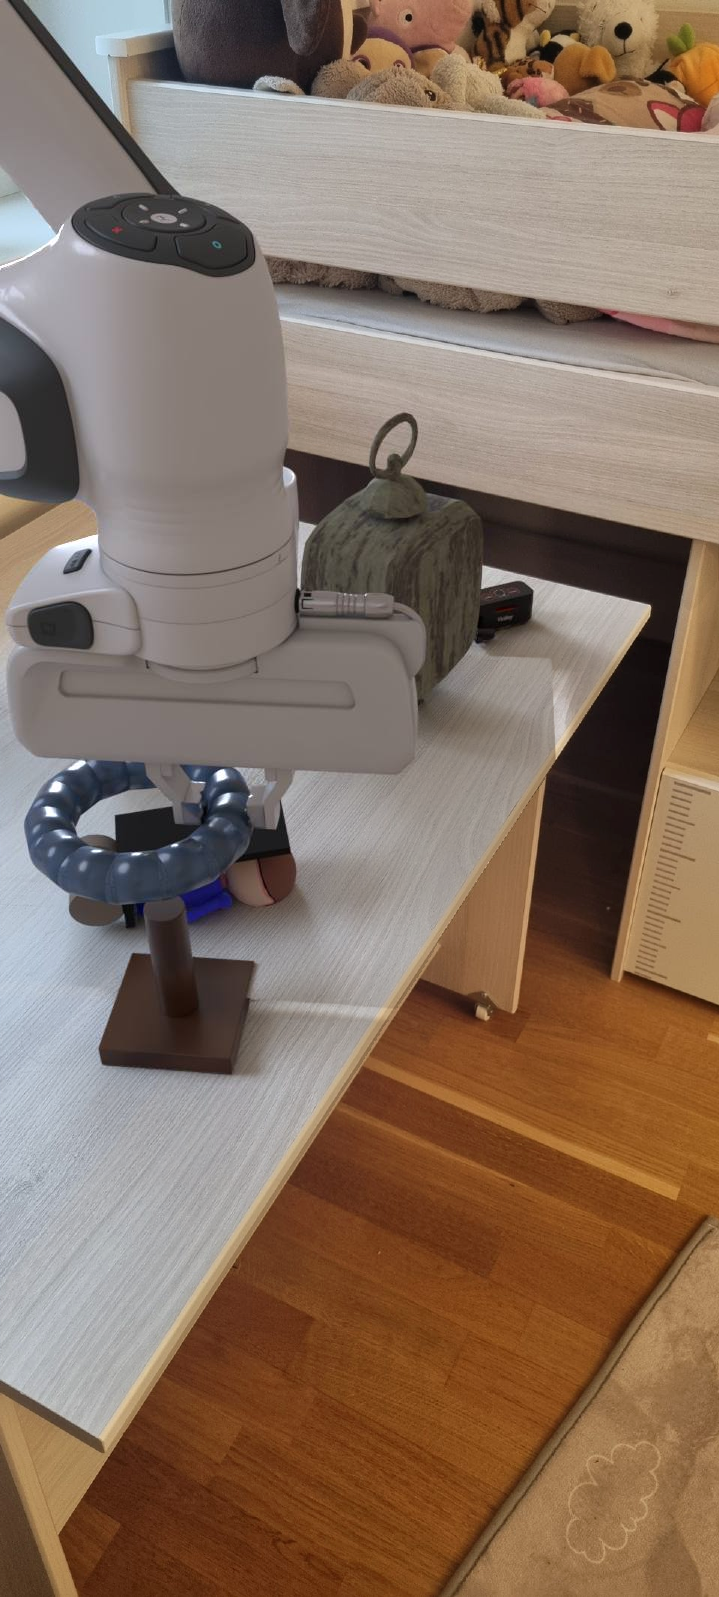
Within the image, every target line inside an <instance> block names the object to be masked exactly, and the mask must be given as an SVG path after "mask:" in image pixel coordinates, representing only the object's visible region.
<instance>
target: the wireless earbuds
mask: <svg viewBox="0 0 719 1597" xmlns="http://www.w3.org/2000/svg"><path fill="white" fill-rule="evenodd" d="M534 593H535V591H534V589H533V588H532V587H530V586H529V585H528V584H527V583H525V582H524V581H522V580H514V581H510V582H506V583H501V584H497V585H492V586H488V587H484V588H481V596H480V608H479V617H478V624H477V630H476V634H475V639H474V641H473V642H474V643H475V644H476V645H479V644H482V643H483V642H485V641H486V642H487V641H491V640H493V639H494V638H495V637H496V631H497V630H501V629H505V628H510V627H513V626H517V625H522V624H526V623H529V622H530V621H531V619H532V616H533V605H534V604H533V603H534Z"/></svg>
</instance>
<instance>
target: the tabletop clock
mask: <svg viewBox="0 0 719 1597" xmlns="http://www.w3.org/2000/svg"><path fill="white" fill-rule="evenodd" d="M402 423H408V424H409V426H410V428H411V437H410V442H409V444H408V446H407V448H406V449H405V451H404V452H403V453H402V454H401V455H400V454H398V453H396V452H395V453H389V455H388V456H387V458H386V468H385V469H381V470H379V469H377V466H376V460H377V454H378V452H379V450H380V448H381V445H382V442H383V441H384V439H385V438H386V436H387V435H388V434H389V433H390V432H391V431H392V430H393V429H394V428H396V427H397V426H398V425H400V424H402ZM418 437H419V426H418V422H417V419H416V418H415V417H414V416H413V414H411V413H408V412H405V411H404V412H400V413H397V414H396V415H394V416H392V417H391V418H389V419H388V420H386V421H385V422H384V424H382V425H381V427H380V428H379V429H378V431H377V433H376V434H375V436H374V438H373V441H372V444H371V447H370V450H369V459H368V468H369V470H370V473H371V475H372V476H373V477H374V478H373V479H371V480H370V481H369V483H368V484H367V486H366V487H364V488H362V489H361V490H359V491H358V492H356V493H354V494H352V495H350V496H349V497H347V498H346V499H344V500H343V501H342V502H341V503H339V505H338V506H336V507H335V508H334V509H333V510H332V511H330V512H329V513H327V515H326V516H325V517H324V518H323V519H322V520H321V521H319V523H318V524H317V525H316V526H315V527H314V528H313V530H312V531H311V533H310V534H309V536H308V537H307V539H306V541H305V543H304V548H303V554H302V558H301V570H300V585H299V586H300V588H299V590H310V591H331V592H338V593H339V592H340V593H344V594H345V593H346V594H349V595H351V594H355V595H366V593H382V594H388V595H391V596H393V597H394V602H396V603H400V604H403V605H406V606H408V607H409V608H411V609H412V610H414V611H415V612H416V613H417V614H418V615H419V616H420V618H421V619H422V621H423V623H424V626H425V630H426V657H425V662H424V664H423V667H422V668H421V670H420V671H419V672H418V673H417V675H416V676H414V677H415V684H416V692H417V703H418V706H421V705H423V704H425V702H426V700H425V699H424V698H425V697H426V696H427V695H428V694H429V693H431V692H432V691H433V690H434V689H435V688H436V687H437V686H439V684H440V683H441V682H442V681H444V679H445V678H446V677H447V676H448V675H449V674H450V673H451V671H452V670H453V669H454V668H455V667H456V666H457V665H458V664H459V662H461V661H462V659H463V658H464V657H465V656H466V654H467V653H468V651H469V650H470V648H471V646H472V645H473V642H475V641H474V639H475V634H476V630H477V624H478V617H479V608H480V596H481V589H482V583H483V563H484V562H483V560H484V528H483V527H484V526H483V522H482V517H480V516H479V515H478V513H477V512H476V511H475V510H474V509H473V508H472V507H471V506H470V505H469V504H468V502H466V501H464V500H460V499H456V498H452V497H446V496H442V495H438V494H433V493H429V492H426V491H425V490H424V488H423V486H422V485H421V484H420V483H419V482H418V481H417V480H416V479H415V478H413V477H412V476H411V475H409V474H404V473H402V470H403V468H404V467H406V465H407V464H408V462H409V461H410V459H411V458H412V457H413V454H414V452H415V448H416V446H417V441H418ZM394 614H402V613H399V612H396V611H394Z"/></svg>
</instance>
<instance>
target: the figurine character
mask: <svg viewBox="0 0 719 1597" xmlns="http://www.w3.org/2000/svg"><path fill="white" fill-rule="evenodd" d="M284 813H285V812H284V809H283V803H282V799H281V800H280V815H279V820H278V824H277V828H276V829H262V828H253V831H252V835H251V838H250V842H249V845H248V847H247V849H246V851H245V852H244V854H243V855H242V856H241V857H240V858H238V859H237V860H236V861H235V862H234V863H233V864H232V865H231V866H230V867H229V868H228V869H227V870H226V871H225V872H224V873H222V874H221V875H220V876H219V877H218V878H217V879H216V880H215V881H213V882H211V883H209V884H207V885H205V886H202V887H200V888H197V889H195V890H192V891H190V892H187V893H185V894H182V895H180V896H179V897H180V898H181V899H182V900H183V901H184V903H185V907H186V914H187V921H188V923H191V924H192V923H194V922H195V921H197V920H199V919H201V918H203V917H205V916H207V915H208V914H210V913H212V912H214V911H216V910H217V909H223V910H227V909H229V908H230V907H231V906H232V903H233V900H232V896H231V895H230V894H228V893H227V892H225V888H228V890H229V891H230V893H231V894H232V895H233V896H234V898H235V899H236V900H238V901H239V902H240V903H243V904H245V905H248V906H253V907H267V906H272V905H274V904H277V903H279V902H281V901H283V900H284V899H286V897H287V896H289V895H290V893H291V892H292V890H293V887H294V886H295V882H296V879H297V863H296V860H295V857H294V855H293V853H292V851H291V850H292V849H291V843H290V839H289V833H288V828H287V824H286V818H285V814H284ZM205 818H206V816H205V817H204V820H205ZM200 826H201V825H185V824H176V823H175V820H174V813H173V806H172V805H171V806H164V807H157V808H152V809H145V810H140V811H139V810H138V811H131V812H125V813H120V814H114V834H115V837H114V838H113V837H112V836H108V835H104V834H95V833H94V834H88V835H84V836H81V837H80V838H81V839H82V840H83V841H85V842H86V843H87V844H88V845H90V846H91V847H95V848H99V849H104V850H108V851H112V852H117V853H130V852H142V851H155V850H158V849H161V848H163V847H166V846H168V845H171V844H174V843H176V842H179V841H181V840H184V839H186V838H188V837H189V836H190V835H191V834H192V833H193V832H194V831H196V830H197V829H198V828H199V827H200ZM145 904H146V903H134V904H122V905H113V904H109V903H105V902H101V901H96V900H92V899H88V898H84V897H80V896H76V895H72V894H69V893H68V912H69V915H70V917H71V918H72V919H73V920H74V921H75V922H77V923H79V924H81V925H83V926H88V927H104V926H108V925H110V924H113V923H115V922H117V921H119V920H120V919H121V918H122V917H123V916H124V923H125V928H126V929H132V928H136V914H137V915H138V916H144V913H143V909H144V906H145ZM135 907H136V908H135ZM135 909H136V910H135ZM187 909H191V910H187Z"/></svg>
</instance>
